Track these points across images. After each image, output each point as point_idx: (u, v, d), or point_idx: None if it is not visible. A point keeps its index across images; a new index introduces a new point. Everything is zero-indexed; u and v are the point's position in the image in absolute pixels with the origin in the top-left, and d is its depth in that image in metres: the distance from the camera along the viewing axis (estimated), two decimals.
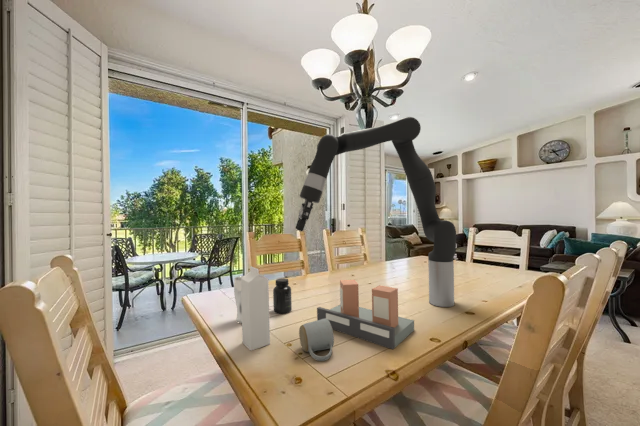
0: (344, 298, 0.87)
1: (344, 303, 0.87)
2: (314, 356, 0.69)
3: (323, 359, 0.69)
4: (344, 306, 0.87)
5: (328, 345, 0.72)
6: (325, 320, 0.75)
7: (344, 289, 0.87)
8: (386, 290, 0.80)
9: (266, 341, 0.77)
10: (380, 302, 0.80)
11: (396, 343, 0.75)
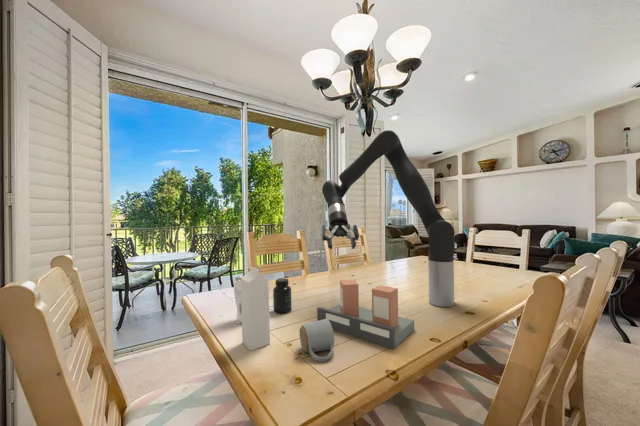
0: (344, 298, 0.87)
1: (344, 303, 0.87)
2: (314, 357, 0.68)
3: (323, 360, 0.68)
4: (344, 306, 0.87)
5: (328, 346, 0.72)
6: (325, 320, 0.75)
7: (344, 289, 0.87)
8: (386, 290, 0.80)
9: (266, 341, 0.77)
10: (380, 302, 0.80)
11: (396, 343, 0.75)
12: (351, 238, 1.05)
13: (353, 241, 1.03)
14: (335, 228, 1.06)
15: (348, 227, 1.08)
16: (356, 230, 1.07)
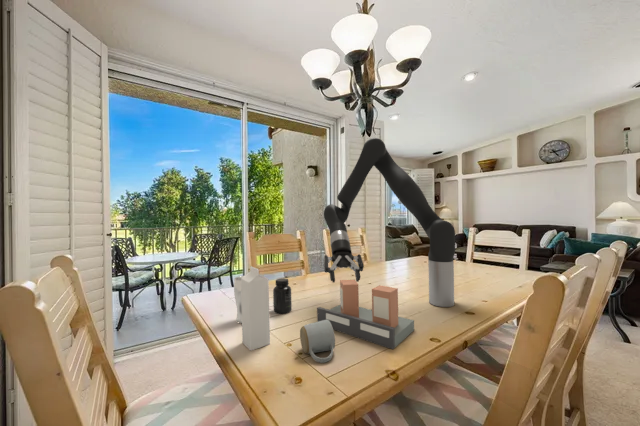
0: (344, 298, 0.87)
1: (344, 303, 0.87)
2: (315, 358, 0.68)
3: (324, 361, 0.68)
4: (344, 306, 0.87)
5: (329, 346, 0.72)
6: (326, 321, 0.75)
7: (344, 289, 0.87)
8: (386, 290, 0.80)
9: (266, 341, 0.77)
10: (380, 302, 0.80)
11: (396, 343, 0.75)
12: (355, 269, 0.99)
13: (357, 273, 0.97)
14: (338, 259, 1.00)
15: (352, 257, 1.02)
16: (360, 260, 1.00)
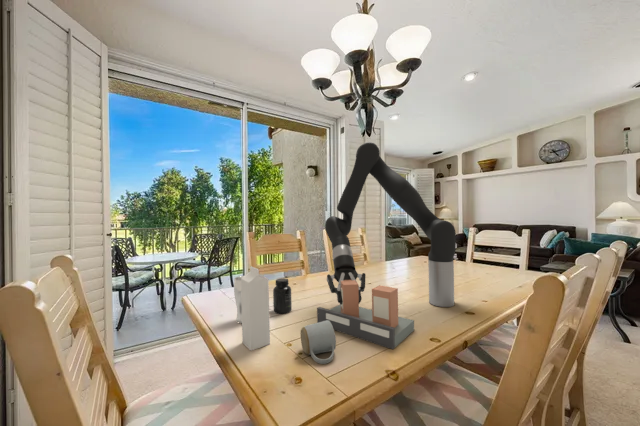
0: (344, 298, 0.87)
1: (344, 303, 0.87)
2: (316, 359, 0.67)
3: (325, 362, 0.67)
4: (344, 306, 0.87)
5: (330, 347, 0.71)
6: (327, 322, 0.74)
7: (344, 289, 0.87)
8: (386, 290, 0.80)
9: (266, 341, 0.77)
10: (380, 302, 0.80)
11: (396, 343, 0.75)
12: None
13: None
14: (342, 276, 0.93)
15: (356, 275, 0.95)
16: (363, 280, 0.93)
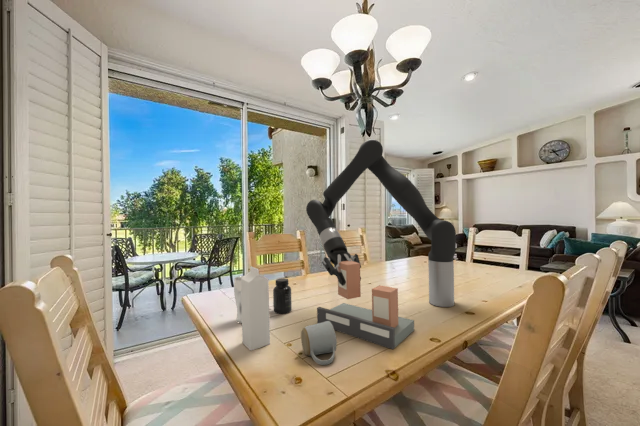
0: (348, 278, 0.87)
1: (348, 283, 0.87)
2: (316, 360, 0.67)
3: (325, 363, 0.67)
4: (348, 286, 0.87)
5: (331, 348, 0.70)
6: (327, 323, 0.74)
7: (348, 269, 0.87)
8: (386, 290, 0.80)
9: (266, 341, 0.77)
10: (380, 302, 0.80)
11: (396, 343, 0.75)
12: None
13: None
14: (339, 258, 0.92)
15: (350, 257, 0.96)
16: (358, 260, 0.95)
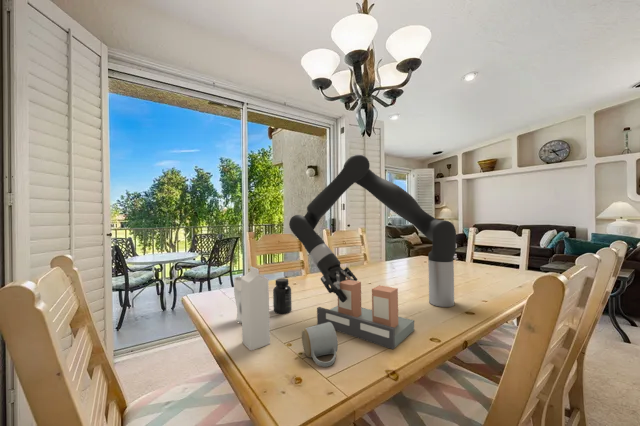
0: (353, 298, 0.87)
1: (353, 304, 0.87)
2: (317, 362, 0.66)
3: (327, 365, 0.66)
4: (353, 306, 0.87)
5: (332, 350, 0.70)
6: (329, 324, 0.73)
7: (353, 289, 0.87)
8: (386, 290, 0.80)
9: (266, 341, 0.77)
10: (380, 302, 0.80)
11: (396, 343, 0.75)
12: None
13: None
14: (337, 275, 0.91)
15: (343, 271, 0.96)
16: (351, 273, 0.97)
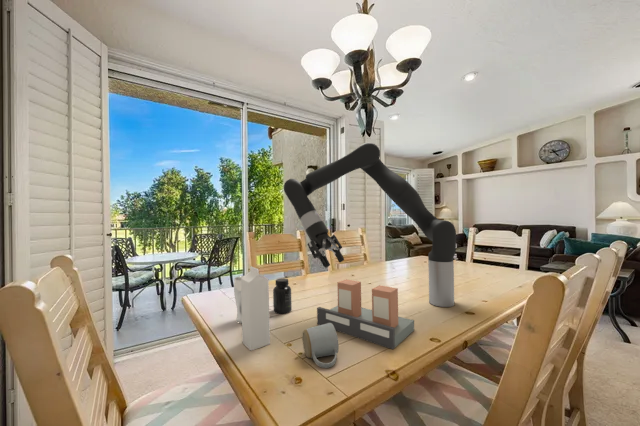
0: (353, 298, 0.87)
1: (353, 304, 0.87)
2: (318, 363, 0.66)
3: (327, 366, 0.66)
4: (353, 306, 0.87)
5: (332, 351, 0.69)
6: (329, 325, 0.72)
7: (353, 289, 0.87)
8: (386, 290, 0.80)
9: (266, 341, 0.77)
10: (380, 302, 0.80)
11: (396, 343, 0.75)
12: (336, 251, 1.01)
13: (341, 255, 1.00)
14: (324, 242, 0.97)
15: (330, 238, 1.02)
16: (337, 241, 1.03)
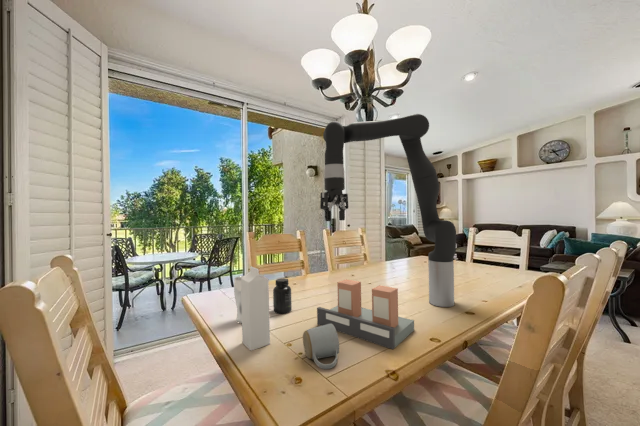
0: (353, 298, 0.87)
1: (353, 304, 0.87)
2: (319, 364, 0.65)
3: (328, 367, 0.65)
4: (353, 306, 0.87)
5: (333, 352, 0.69)
6: (330, 325, 0.72)
7: (353, 289, 0.87)
8: (386, 290, 0.80)
9: (266, 341, 0.77)
10: (380, 302, 0.80)
11: (396, 343, 0.75)
12: (341, 209, 1.05)
13: (344, 215, 1.04)
14: (335, 198, 0.99)
15: (342, 196, 1.04)
16: (347, 201, 1.06)
